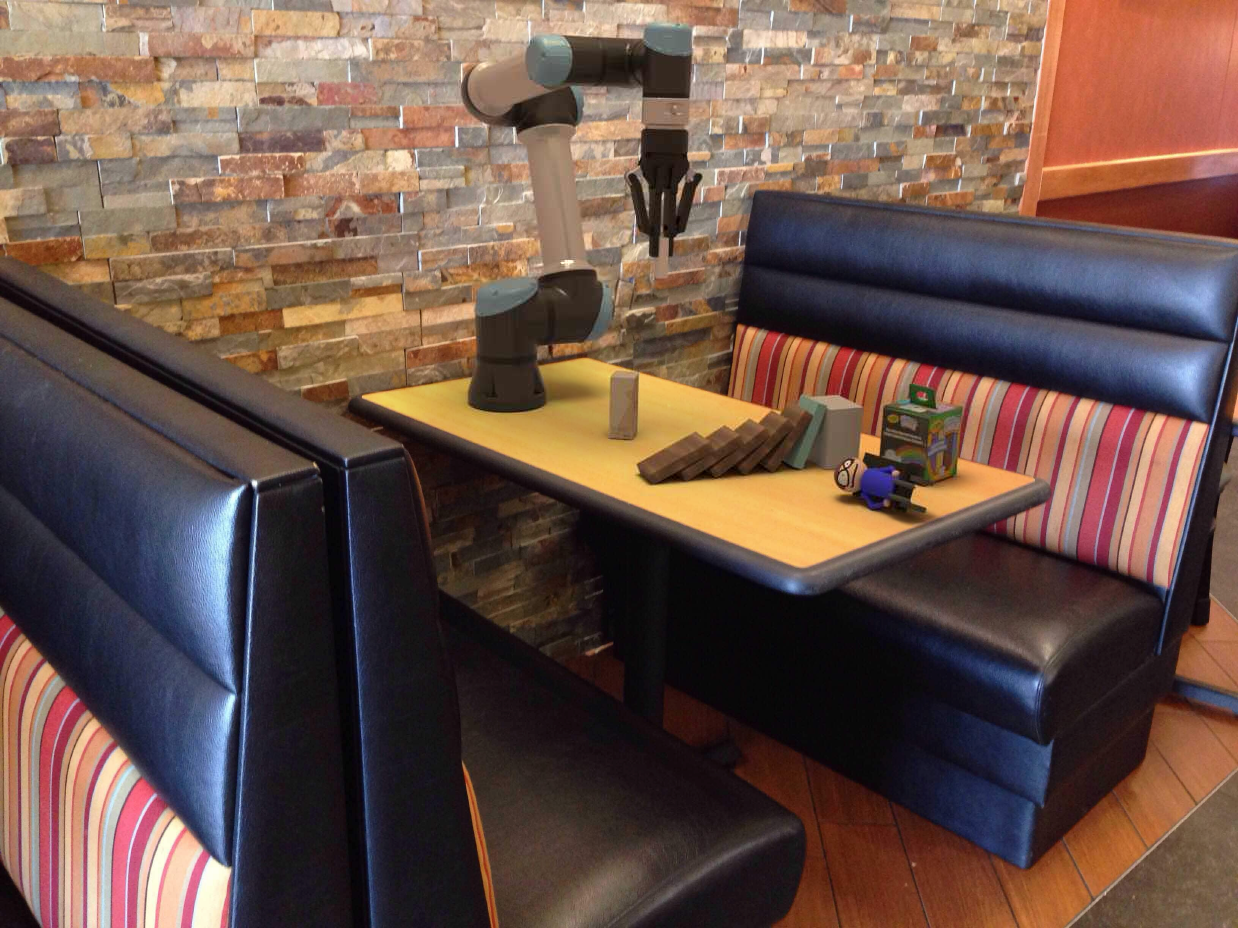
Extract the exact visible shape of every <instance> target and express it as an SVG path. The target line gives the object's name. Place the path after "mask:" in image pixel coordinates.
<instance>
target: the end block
mask: <svg viewBox="0 0 1238 928" xmlns="http://www.w3.org/2000/svg"><path fill="white" fill-rule="evenodd" d="M810 397H811V398H813V399H815V400H817V401H819V402H821V403H823V404H825V405H827V408H826V411H825V413H824V416H823V419H822V421H821V424H820V426H819V429H818V431H817V434H816V436H815V439H814V441H813V444H812V446H811V449H810V451H809V454H808V456H807V459H806V460H808V461H811V462H812V463H814V464H815V465H817V466H818V467H820V468H822V469H824V470H835V468H836V466H837V465H838V464H839V463H840V462H841V461H842V460H844V459H847V458H857V459H860V458H859V457H860V446H861V436H862V435H861V434H862V426H863V425H862V424H863V415H864V414H863V413H864V406H862V405H859V404H857V403H855V402H853V401H851V400H850V399H847V398H845V397H843V396H840V395H838V394H832V395H831V394H829V395H820V396H819V395H818V396H810Z"/></svg>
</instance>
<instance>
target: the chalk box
mask: <svg viewBox="0 0 1238 928" xmlns="http://www.w3.org/2000/svg"><path fill="white" fill-rule="evenodd" d="M908 390H909V391H908V392H909V398H901V399H898V400H895V401H894V402H891V403H886V404H884V405H883V406H882V420H881V430H880V432H881V433H880V441H879V455H878V456H881V457H884V458H887V459H891V460H894V461H898V462H901V463H904V464H908V465H911V466H915V467H918V468H920V471H919V474H918V477H920V478H923V479H927V480H930V481H933V482H934V483H936V482H938V481H941V480H945V479H947V478H949V477H953V476H955V475H957V470H958V462H959V451H960V440H961V438H960V437H961V430H962V420H963V411H964V406H962V405H958V404H954V403H950V402H947V401H945V402H944V401H942V400H940V401H939V400H936V391H935V388H933V387H929V386H927V385H926V386H925V385H921V384H916V383H912V382H911V383H909V384H908ZM919 392H922V393H924V394H925V395H926V396H927V398H926V397H922V396H918V393H919ZM915 485H918V486H920V487H925V486H926V485H925V484H922V483H918V482H916V483H915Z"/></svg>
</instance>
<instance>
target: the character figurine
mask: <svg viewBox="0 0 1238 928" xmlns="http://www.w3.org/2000/svg"><path fill="white" fill-rule="evenodd" d="M919 471H920V468H918V467H915V466H911V465H908V464H904V463H901V462H898V461H894V460H891V459H887V458H884V457H881V456H879V455H876V454H873V453H870V452H866V451H864V456H863V458H862V460H861V459H860V458H858V459H857V458H847V459H844V460H842V461H841V462H840V463H839V464H838V465H837V466H836V468H835V469H834V471H833V478H834V482H835V484H836V486H837V487H838V488H839V489H840V490H841V491H843V492H846V493H852V495H853V496H855V497H858V498H861V499H864V500H865V502H866V503H867V505H868V506H869V508H870V509H871V510H877V509H879V508H883V507H887V508H890V509H891V510H894V511H899V512H903V513H907V512H908V510H911V511H914V512H917V513H921V514H924V515H925V514H926V512H927V507H926V506H925V507H924V506H923V505H919V504H915V503H913V502H912V501H911V499H912V495H913V493H914V490H915V489H917V487H916V484H915V483H916V482H918V483H922V484H925V486H929V487H933V485H934V483H935V482H933V481H930V480H927V479H923V478H920V477H918V474H919Z"/></svg>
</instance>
